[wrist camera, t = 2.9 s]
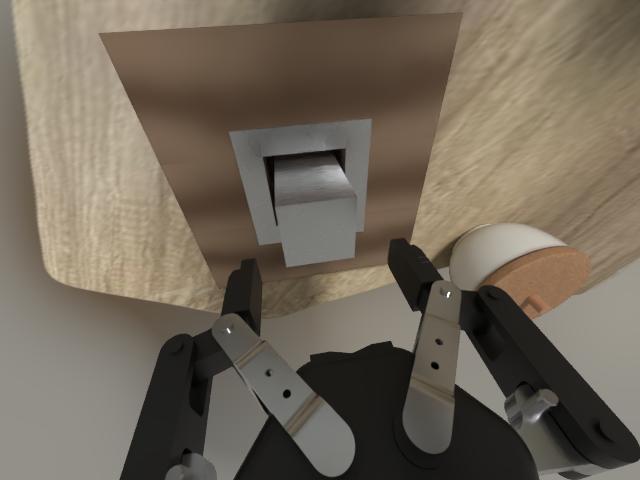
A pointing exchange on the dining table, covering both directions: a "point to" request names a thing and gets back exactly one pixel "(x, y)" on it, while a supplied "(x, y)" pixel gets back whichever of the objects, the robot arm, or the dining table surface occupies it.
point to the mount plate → (289, 123)
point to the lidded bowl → (519, 265)
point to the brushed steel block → (314, 208)
